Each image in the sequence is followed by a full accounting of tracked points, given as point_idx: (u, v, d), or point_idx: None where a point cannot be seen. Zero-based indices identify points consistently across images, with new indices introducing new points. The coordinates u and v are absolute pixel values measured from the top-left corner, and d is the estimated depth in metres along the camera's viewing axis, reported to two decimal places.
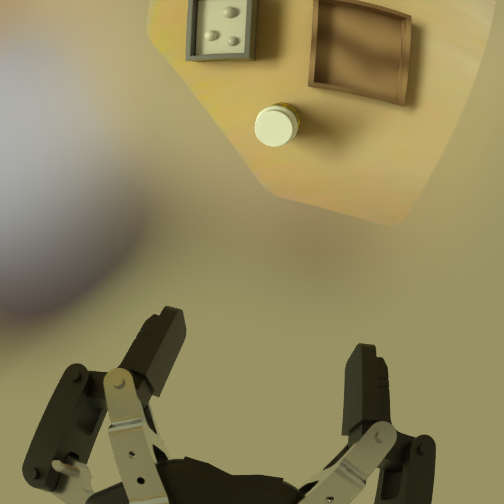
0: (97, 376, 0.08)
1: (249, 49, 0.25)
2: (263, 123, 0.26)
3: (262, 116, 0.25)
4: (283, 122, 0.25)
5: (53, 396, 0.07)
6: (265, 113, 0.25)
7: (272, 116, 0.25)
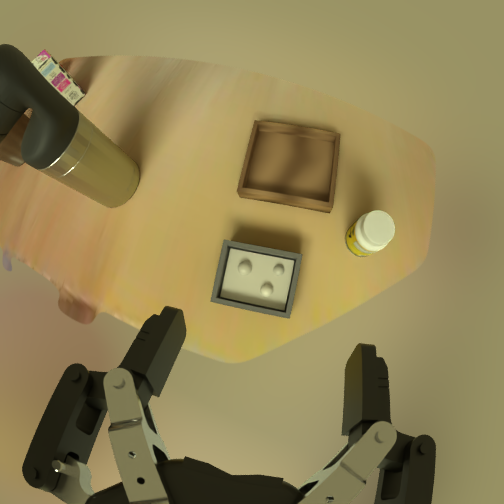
0: (97, 376, 0.08)
1: (292, 253, 0.34)
2: (375, 235, 0.28)
3: (368, 234, 0.28)
4: (374, 217, 0.28)
5: (53, 396, 0.07)
6: (366, 231, 0.28)
7: (368, 225, 0.28)
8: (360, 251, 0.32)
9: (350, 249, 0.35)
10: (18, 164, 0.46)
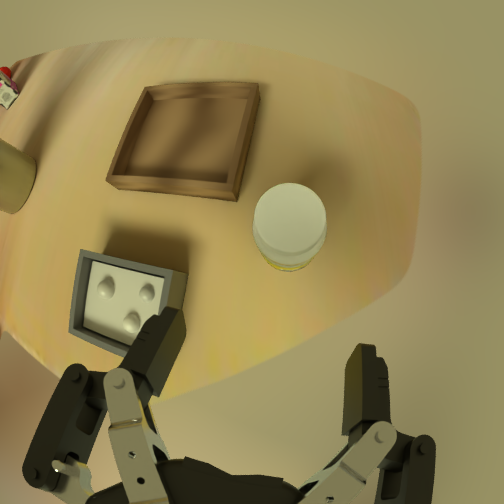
0: (97, 376, 0.08)
1: None
2: (278, 234, 0.14)
3: (264, 233, 0.15)
4: (278, 196, 0.15)
5: (53, 396, 0.07)
6: (258, 227, 0.15)
7: (265, 215, 0.15)
8: (273, 264, 0.19)
9: (265, 259, 0.22)
10: None
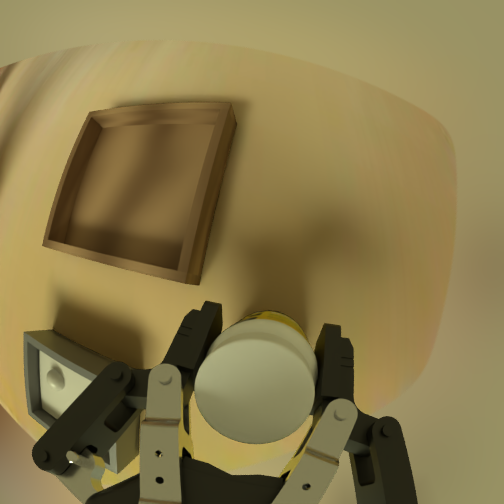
0: (138, 373, 0.09)
1: None
2: (232, 421, 0.08)
3: (210, 418, 0.08)
4: (233, 364, 0.08)
5: (87, 389, 0.07)
6: (201, 408, 0.08)
7: (212, 392, 0.08)
8: None
9: None
10: None
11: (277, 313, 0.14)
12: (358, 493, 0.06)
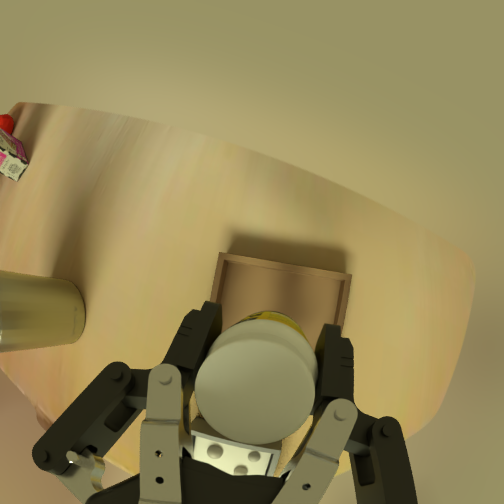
0: (138, 373, 0.09)
1: (269, 448, 0.22)
2: (232, 421, 0.08)
3: (210, 418, 0.08)
4: (233, 365, 0.08)
5: (87, 389, 0.07)
6: (201, 408, 0.08)
7: (212, 392, 0.08)
8: None
9: None
10: None
11: (277, 313, 0.14)
12: (358, 493, 0.06)
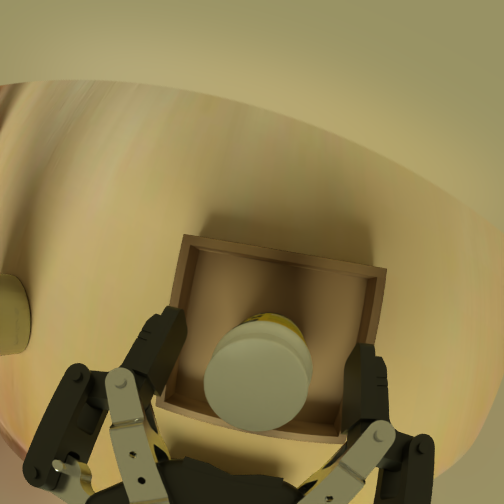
0: (99, 375, 0.09)
1: None
2: (237, 410, 0.09)
3: (217, 408, 0.09)
4: (238, 360, 0.09)
5: (54, 396, 0.07)
6: (209, 399, 0.09)
7: (219, 385, 0.09)
8: None
9: None
10: None
11: (277, 315, 0.16)
12: None
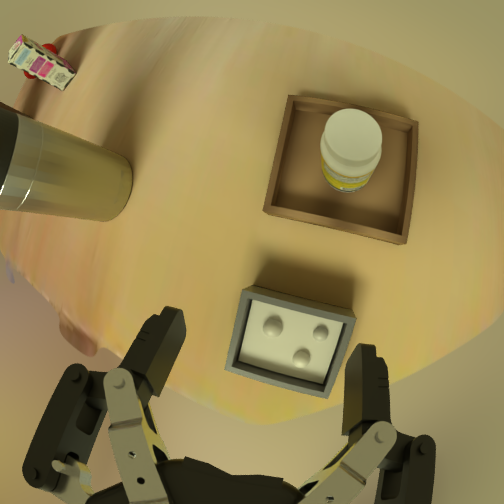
0: (97, 376, 0.08)
1: (342, 315, 0.21)
2: (345, 146, 0.16)
3: (333, 145, 0.16)
4: (343, 118, 0.16)
5: (53, 396, 0.07)
6: (328, 140, 0.16)
7: (333, 131, 0.16)
8: (336, 179, 0.20)
9: (326, 179, 0.23)
10: None
11: None
12: None
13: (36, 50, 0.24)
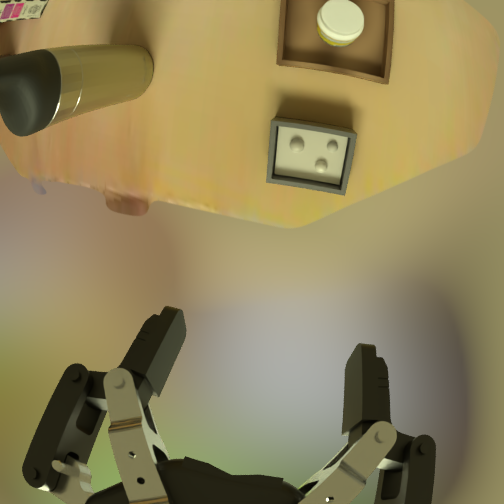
0: (97, 376, 0.08)
1: (346, 132, 0.28)
2: (337, 24, 0.16)
3: (328, 23, 0.17)
4: (334, 5, 0.15)
5: (53, 396, 0.07)
6: (324, 20, 0.16)
7: (328, 14, 0.16)
8: (330, 41, 0.21)
9: (322, 39, 0.23)
10: None
11: None
12: None
13: (1, 2, 0.10)
